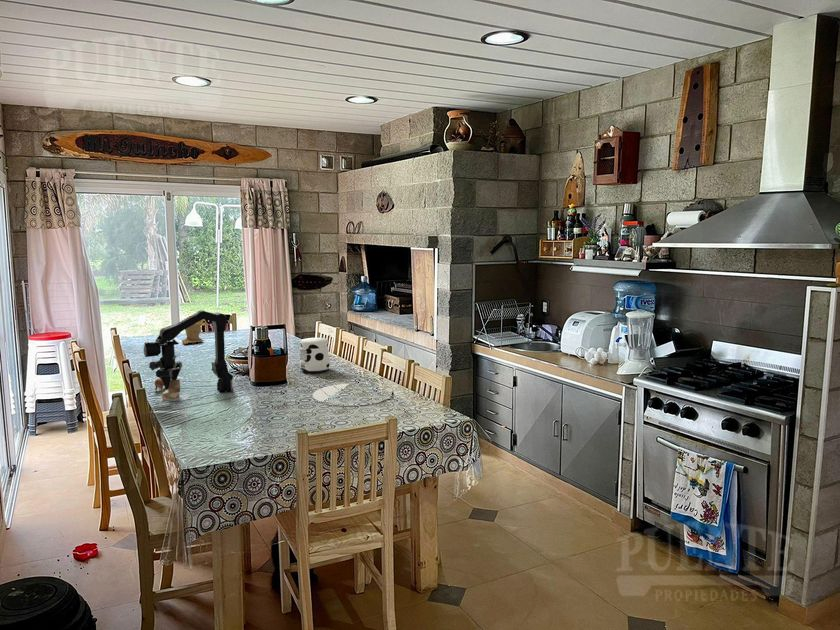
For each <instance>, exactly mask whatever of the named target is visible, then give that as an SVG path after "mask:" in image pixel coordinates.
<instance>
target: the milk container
mask: <svg viewBox="0 0 840 630" xmlns="http://www.w3.org/2000/svg"><path fill="white" fill-rule="evenodd" d="M328 340H329V339H328V338H326V337H325V338H324V337H308V338H302V339H301V340H300V359H299V369H300V370H301V371H302V372H305V373H322V372H325V371H328V370H329V369H330V368H331V358H330V354H329V341H328Z"/></svg>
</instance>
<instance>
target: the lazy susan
mask: <svg viewBox="0 0 840 630" xmlns="http://www.w3.org/2000/svg"><path fill="white" fill-rule="evenodd" d="M365 383H366V384H370V383H369V382H367V381H365V382H364V384H365ZM347 385H349V383H339V384H334V385H333V384H332V385H328V386H325V387H322V388H318V389H317V390H315V391H314V392H313V393H312V399H313V398H314V399H316V400H317V401H320V402H321V401H322V402H323V401H324V400H326V399H327V400H328V398H329V395H330V396H332V395H334V394H336V393H335V392H337V393H338V391H339V390H340V391H341V388H342V389H344V388H345V387H346V386H347ZM334 386H335V387H336V388H335V387H334ZM381 386H382V389H385V388H392V387H390V386H389V385H387V384H386V385H385V384H382V385H381ZM337 388H338V389H339V390H338V389H337ZM324 392H325V393H326V394H327V395H328V396H327V395H326V394H325V393H324ZM314 399H313V400H314ZM317 401H316V402H317ZM326 402H327V401H326Z"/></svg>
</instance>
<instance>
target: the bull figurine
mask: <svg viewBox="0 0 840 630" xmlns="http://www.w3.org/2000/svg"><path fill="white" fill-rule="evenodd" d="M154 386H155V388H154V390H155V392H158V389H159V392H161V391H162V392H164V389H163V388H164V387H165V386H164V384H163V381H162V379H161V378H157V379H155V381H154Z"/></svg>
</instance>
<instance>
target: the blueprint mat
mask: <svg viewBox="0 0 840 630" xmlns="http://www.w3.org/2000/svg"><path fill="white" fill-rule="evenodd" d="M190 396H191V394H180V396H179V397H178V398H176V399H164V400H162V398H161V399H159V400H158V401H159V402H163V401H165V402H168V401H169V402H170V401H174V402H175V401H186V400H187V399H188V398H189V397H190Z"/></svg>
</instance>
